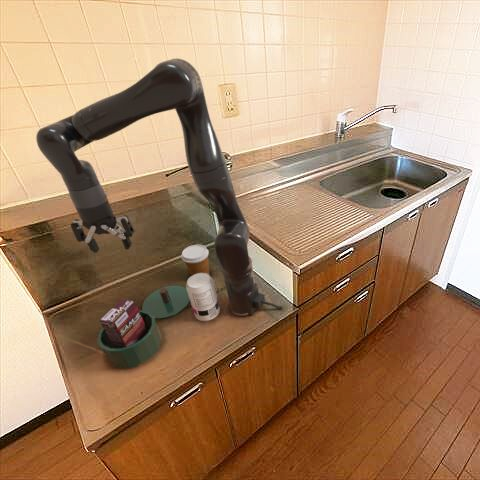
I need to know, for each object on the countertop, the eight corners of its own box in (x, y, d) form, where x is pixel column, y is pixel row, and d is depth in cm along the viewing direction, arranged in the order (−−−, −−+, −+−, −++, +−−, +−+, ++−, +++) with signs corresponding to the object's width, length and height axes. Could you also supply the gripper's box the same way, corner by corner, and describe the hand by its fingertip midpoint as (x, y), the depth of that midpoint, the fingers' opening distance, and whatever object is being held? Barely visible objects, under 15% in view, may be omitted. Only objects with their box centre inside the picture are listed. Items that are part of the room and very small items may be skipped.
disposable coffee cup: (203, 287, 118) (196, 261, 111) (182, 280, 121) (174, 255, 114) (218, 271, 125) (213, 247, 118) (198, 265, 128) (192, 241, 121)
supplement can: (190, 318, 105) (179, 285, 97) (205, 301, 112) (196, 269, 103) (210, 325, 103) (201, 292, 95) (225, 307, 110) (217, 275, 101)
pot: (172, 335, 100) (165, 317, 95) (136, 375, 88) (126, 357, 84) (136, 322, 104) (127, 305, 99) (96, 359, 92) (85, 341, 88)
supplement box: (133, 360, 92) (113, 323, 83) (118, 357, 93) (97, 320, 84) (152, 336, 99) (135, 300, 90) (138, 333, 100) (120, 297, 91)
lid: (200, 293, 115) (196, 281, 112) (170, 325, 103) (165, 312, 99) (165, 283, 119) (161, 271, 116) (132, 313, 107) (126, 300, 104)
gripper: (53, 209, 80) (80, 260, 89) (115, 204, 82) (135, 254, 92) (67, 196, 86) (91, 244, 95) (123, 192, 88) (141, 239, 98)
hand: (112, 249), depth 93 cm, fingers open, 8 cm apart
